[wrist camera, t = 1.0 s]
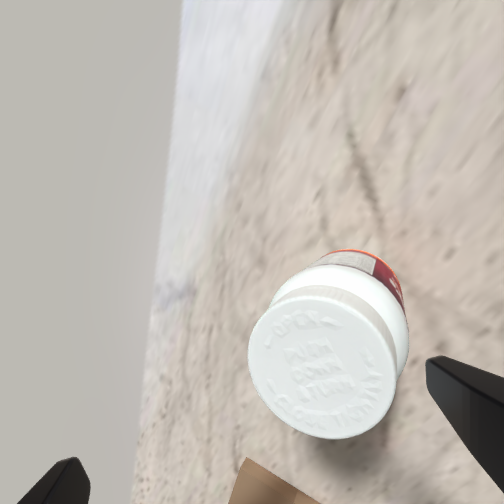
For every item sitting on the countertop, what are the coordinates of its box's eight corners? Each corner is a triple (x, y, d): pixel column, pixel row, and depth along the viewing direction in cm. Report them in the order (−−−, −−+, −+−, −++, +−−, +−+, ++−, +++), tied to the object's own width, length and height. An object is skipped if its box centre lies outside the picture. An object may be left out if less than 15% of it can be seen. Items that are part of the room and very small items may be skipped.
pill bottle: (403, 341, 20) (421, 476, 10) (307, 335, 23) (241, 439, 12) (399, 244, 20) (413, 281, 9) (301, 248, 22) (227, 282, 12)
